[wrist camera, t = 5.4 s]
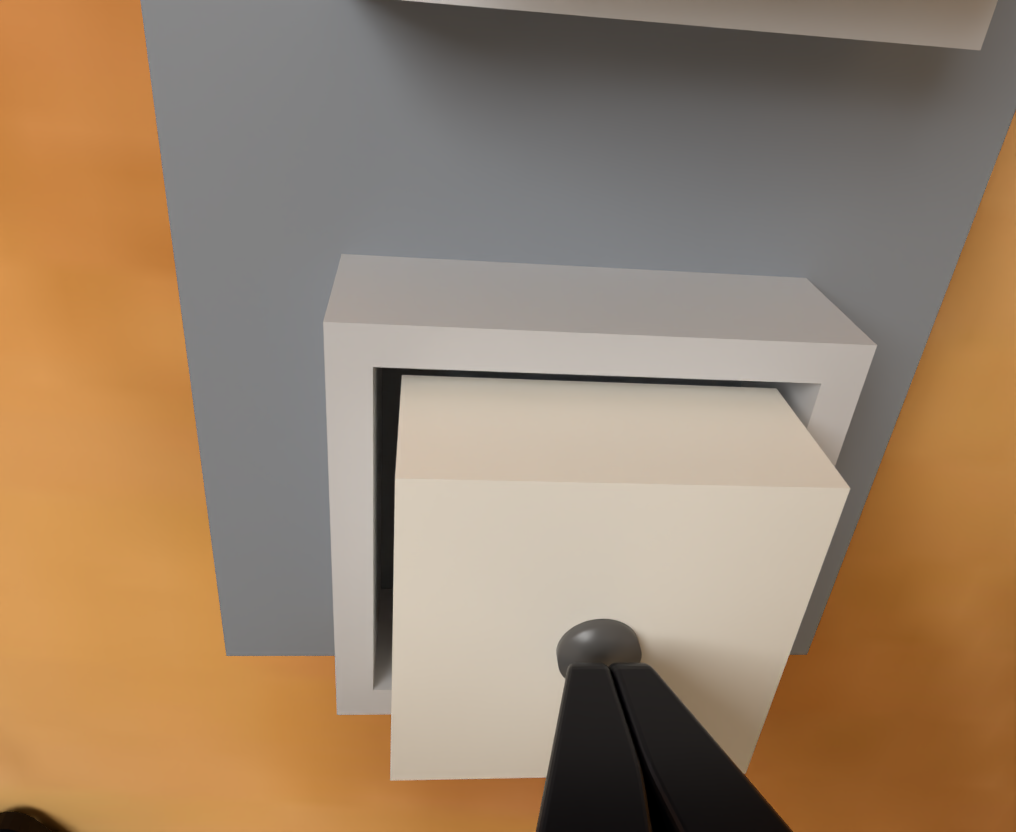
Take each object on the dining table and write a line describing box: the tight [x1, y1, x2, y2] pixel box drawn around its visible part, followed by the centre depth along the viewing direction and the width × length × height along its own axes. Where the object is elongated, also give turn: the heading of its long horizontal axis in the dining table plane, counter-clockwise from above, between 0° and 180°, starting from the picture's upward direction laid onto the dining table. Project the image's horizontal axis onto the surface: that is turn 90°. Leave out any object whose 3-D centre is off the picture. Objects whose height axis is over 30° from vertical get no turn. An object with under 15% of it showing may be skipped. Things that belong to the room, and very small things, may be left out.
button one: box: [390, 375, 850, 780], centre depth 10 cm, size 4×4×2 cm
